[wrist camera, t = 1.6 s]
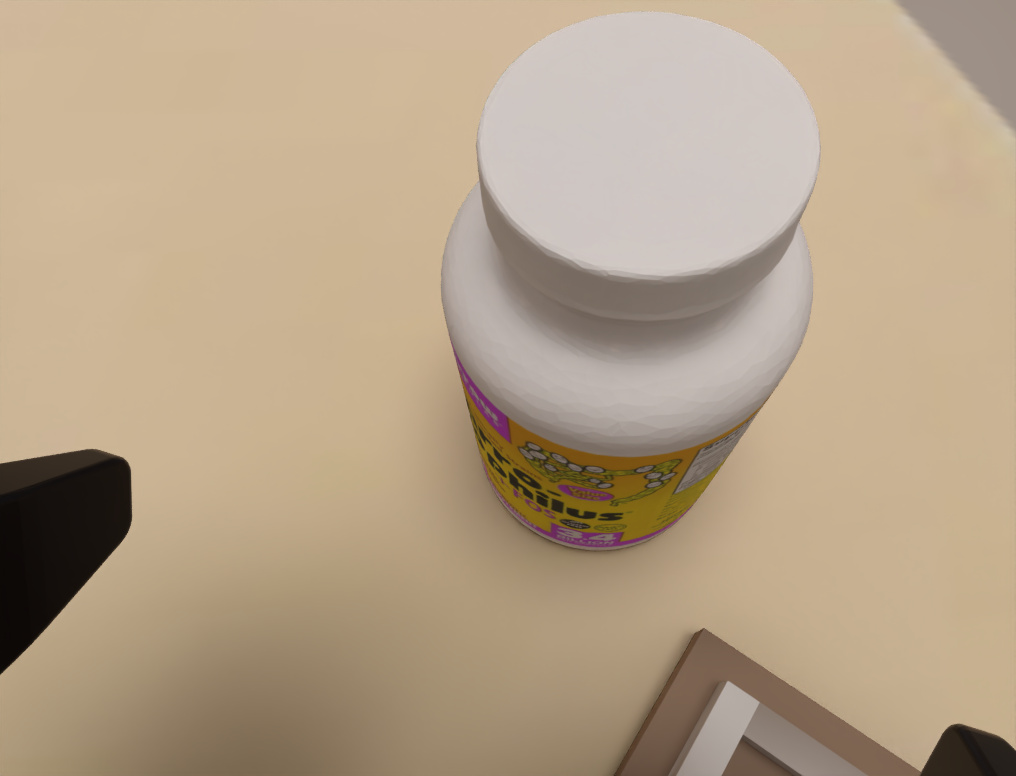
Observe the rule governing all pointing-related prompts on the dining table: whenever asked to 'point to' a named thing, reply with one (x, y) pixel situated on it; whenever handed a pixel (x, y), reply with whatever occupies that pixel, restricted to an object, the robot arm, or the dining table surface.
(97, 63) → the dining table surface
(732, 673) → the seat plate
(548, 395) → the supplement bottle
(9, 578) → the robot arm
